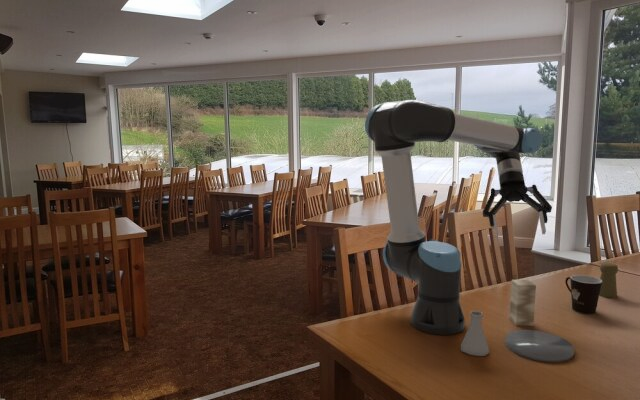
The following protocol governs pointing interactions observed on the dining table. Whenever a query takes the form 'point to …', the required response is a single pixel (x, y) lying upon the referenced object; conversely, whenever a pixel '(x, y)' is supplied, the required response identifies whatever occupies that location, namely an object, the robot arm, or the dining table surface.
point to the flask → (475, 337)
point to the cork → (608, 280)
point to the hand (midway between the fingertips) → (520, 233)
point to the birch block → (522, 302)
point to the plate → (539, 346)
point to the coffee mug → (584, 293)
